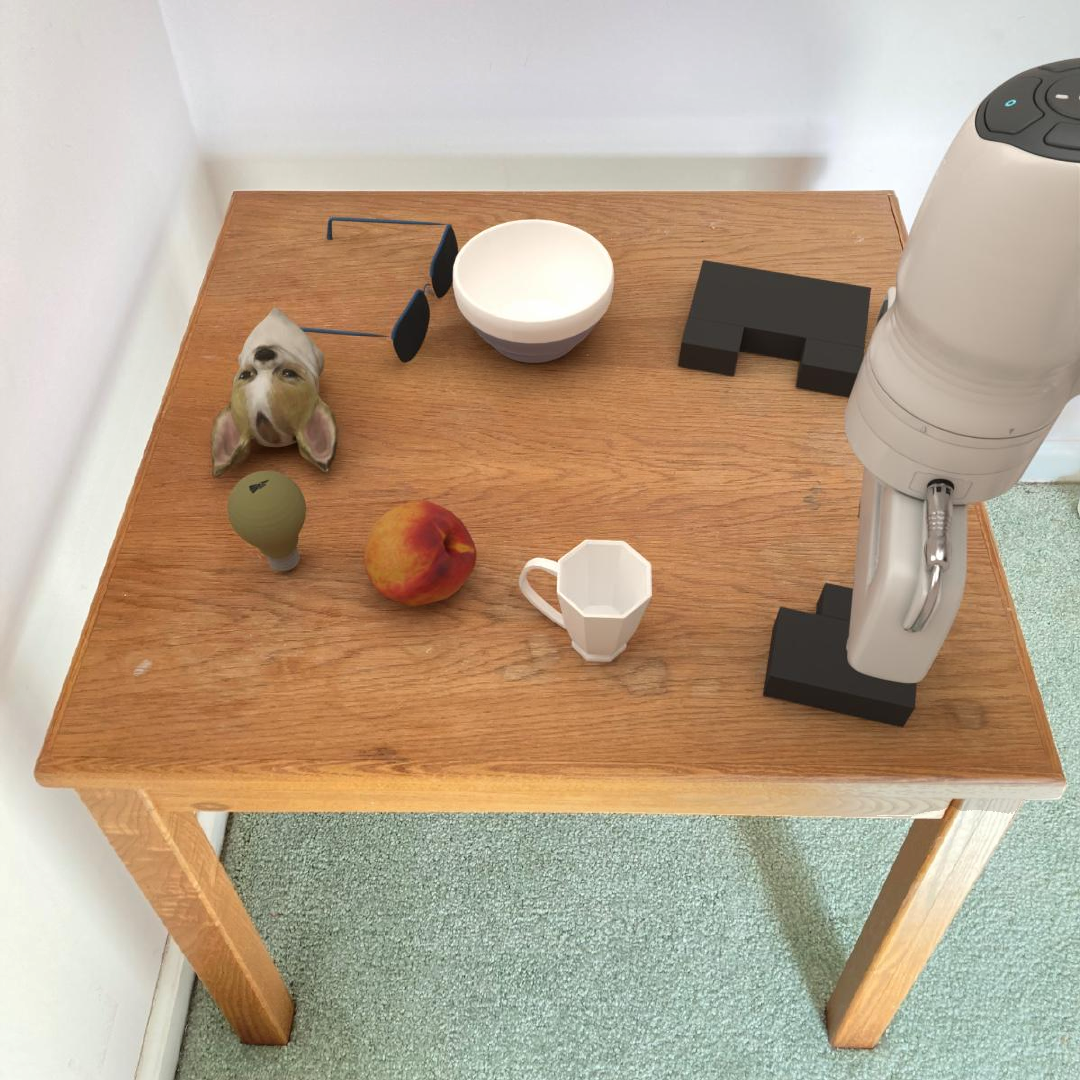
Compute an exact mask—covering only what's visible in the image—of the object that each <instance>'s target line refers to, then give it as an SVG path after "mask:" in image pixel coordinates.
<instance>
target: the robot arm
mask: <svg viewBox="0 0 1080 1080" xmlns="http://www.w3.org/2000/svg"><path fill="white" fill-rule="evenodd" d="M875 323H876V324H875V328H874V330H873V331H872V333H871V337H870V340H869V343H868V346H867V348H866V349H865V352H864V357H863V361H862V364H861V367H860V369H859V372H858V375H857V378H856V381H855V383H854V386H853V389H852V392H851V394H850V397H848V400H847V403H846V406H845V409H844V414H843V429H844V434H845V437H846V441H847V442H848V446H849V447H850V448H851V451H852V452H853V454H854V456H855V457H856V458H857V459H858V462H860V464H861V465H863V472H862V484H861V494H860V496H859V501H858V513H857V518H858V527H857V528H858V529H857V540H856V552H855V560H854V561H855V563H854V575H853V586H852V588H853V595H852V607H851V618H850V624H849V627H848V636H847V645H846V649H847V659H848V663H849V664H850V666H851V667H852V668H854V669H855V670H856V671H858V672H860V673H863V674H866V675H869V676H872V677H876V678H880V679H885V680H890V681H895V682H901V683H919V682H921V681H922V680H923V679H924V678H925V677H926V676H927V674H928V672H929V671H930V670H931V668H932V665H933V664H934V662H935V661H936V659H937V657H938V654H939V653H940V651H941V649H942V646H943V645H944V643H945V641H946V639H947V636H948V635H949V632H950V631H951V628H952V627H953V624H954V622H955V620H956V617H957V615H958V613H959V610H960V607H961V605H962V602H963V597H964V592H965V587H966V580H967V572H968V571H967V570H968V505H973V504H979V503H983V502H988V501H990V500H993V499H995V498H998V497H1000V496H1002V495H1003V494H1005V493H1007V492H1008V491H1010V490H1011V489H1012V488H1014V486H1016V485H1017V484H1018V483H1019V481H1020V480H1021V479H1022V478H1023V476H1024V475H1025V473H1026V471H1027V469H1028V468H1029V466H1030V465H1031V463H1032V461H1033V460H1034V459H1035V456H1037V455H1036V454H1037V453H1038V452H1039V450H1040V448H1041V446H1042V445H1043V443H1044V441H1045V440H1046V438H1047V437H1048V436H1049V433H1050V432H1051V430H1052V429H1053V426H1054V425H1055V423H1056V422H1057V420H1058V419H1059V417H1060V415H1061V414H1062V412H1063V411H1064V409H1065V407H1066V405H1068V403H1069V402H1070V401H1072V400H1073V399H1074V398H1075V397H1077V396H1080V57H1075V58H1068V59H1062V60H1058V61H1057V60H1056V61H1053V62H1049V63H1045V64H1041V65H1038V66H1034V67H1031V68H1029V69H1027V70H1024V71H1020V72H1019V73H1017V74H1015V75H1014V76H1012V77H1011V78H1009V79H1007V80H1005V81H1004V82H1003V83H1000V84H999V85H998V86H996V87H995V88H994V89H993V90H992V91H990V92H989V93H988V94H987V95H986V96H985V97H984V98H983V99H982V100H981V101H980V102H979V103H978V104H977V105H976V106H975V107H974V109H973V110H972V111H971V113H970V114H969V116H968V117H966V119H965V121H964V122H963V124H962V125H961V126H960V128H959V130H958V131H957V133H956V134H955V136H954V138H953V139H952V141H951V143H950V144H949V146H948V148H947V149H946V151H945V153H944V155H943V156H942V159H941V161H940V163H939V165H938V167H937V169H936V171H935V173H934V175H933V176H932V179H931V181H930V184H929V185H928V188H927V190H926V192H925V194H924V196H923V198H922V201H921V204H920V206H919V208H918V211H917V213H916V215H915V217H914V220H913V223H912V225H911V227H910V230H909V233H908V236H907V238H906V240H905V244H904V246H903V249H902V252H901V254H900V257H899V260H898V263H897V268H896V274H895V286H891V287H889V288H888V289H887V291H886V292H885V295H884V297H883V300H882V302H881V306H880V309H879V312H878V316H877V319H876V322H875Z"/></svg>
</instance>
